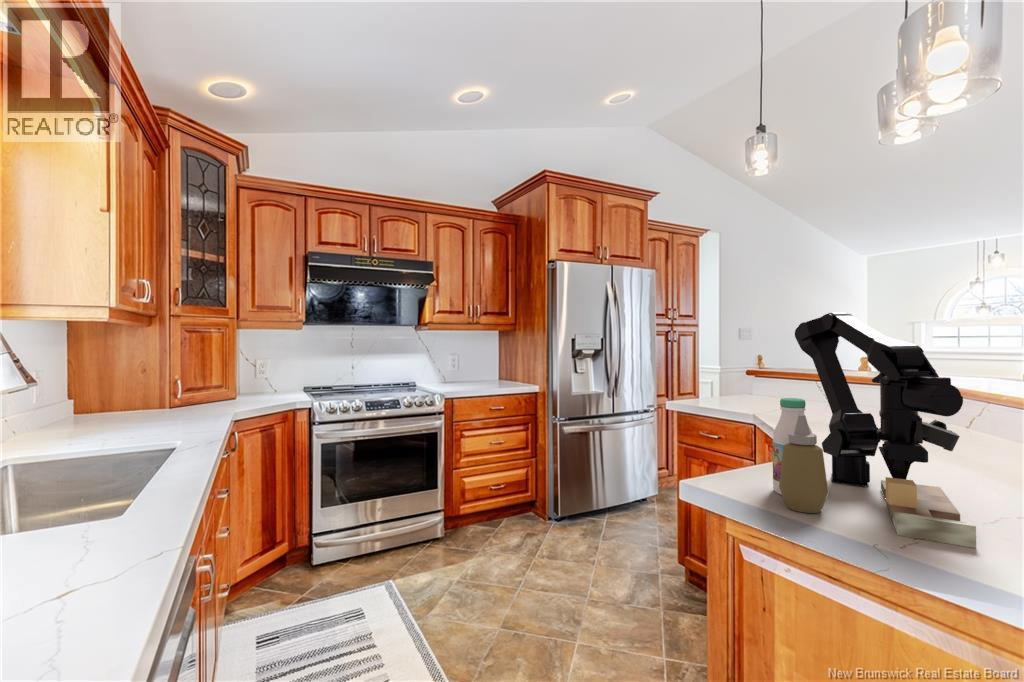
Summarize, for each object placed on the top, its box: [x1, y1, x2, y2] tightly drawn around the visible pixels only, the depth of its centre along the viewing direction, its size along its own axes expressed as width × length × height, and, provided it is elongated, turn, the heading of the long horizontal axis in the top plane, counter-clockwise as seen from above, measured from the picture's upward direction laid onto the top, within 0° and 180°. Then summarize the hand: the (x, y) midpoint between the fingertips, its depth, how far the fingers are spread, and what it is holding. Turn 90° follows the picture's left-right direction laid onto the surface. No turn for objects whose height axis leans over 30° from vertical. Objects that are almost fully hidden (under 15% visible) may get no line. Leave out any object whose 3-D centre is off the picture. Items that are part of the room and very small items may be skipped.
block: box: [885, 476, 917, 508], centre depth 87 cm, size 4×4×4 cm
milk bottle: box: [772, 397, 813, 496], centre depth 99 cm, size 8×8×20 cm
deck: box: [880, 479, 977, 549], centre depth 87 cm, size 10×27×3 cm, turn 146°
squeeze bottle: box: [779, 414, 829, 514], centre depth 91 cm, size 8×8×18 cm
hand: (899, 487), depth 93 cm, fingers closed
